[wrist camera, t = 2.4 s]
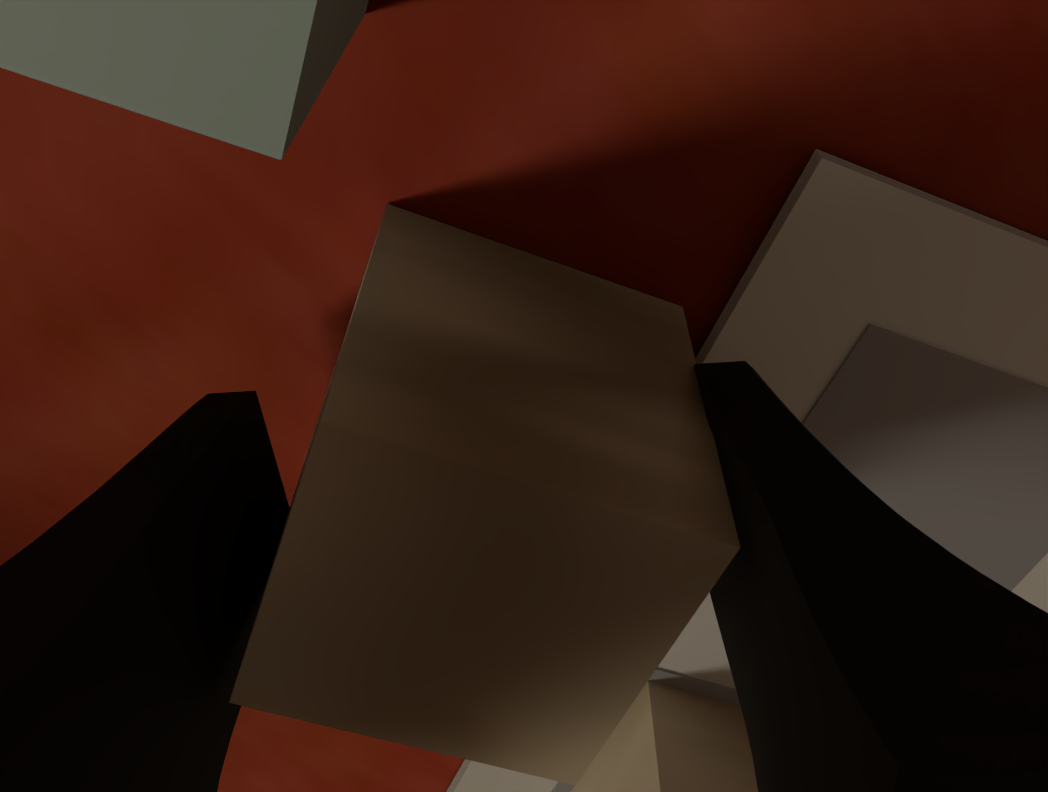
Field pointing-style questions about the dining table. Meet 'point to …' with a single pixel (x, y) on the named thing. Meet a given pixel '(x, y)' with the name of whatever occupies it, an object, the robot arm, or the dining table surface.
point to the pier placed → (674, 747)
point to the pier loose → (492, 510)
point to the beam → (188, 58)
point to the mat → (890, 381)
